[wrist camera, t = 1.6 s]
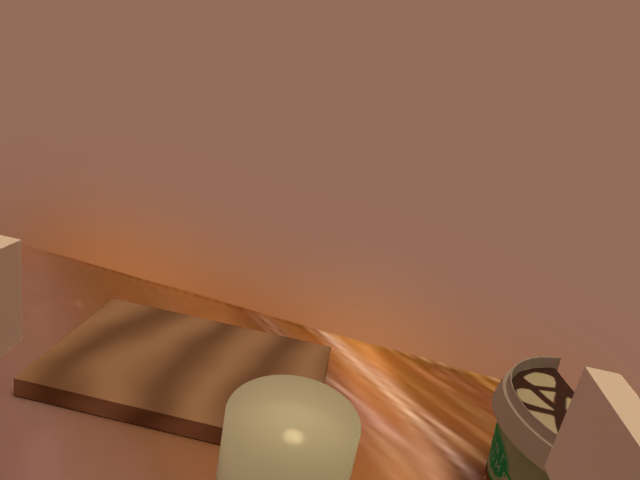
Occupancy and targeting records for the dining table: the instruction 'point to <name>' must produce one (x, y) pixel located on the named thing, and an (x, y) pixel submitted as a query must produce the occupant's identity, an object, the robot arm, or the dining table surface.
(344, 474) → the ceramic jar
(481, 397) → the dining table surface
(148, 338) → the walnut board
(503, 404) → the food container
